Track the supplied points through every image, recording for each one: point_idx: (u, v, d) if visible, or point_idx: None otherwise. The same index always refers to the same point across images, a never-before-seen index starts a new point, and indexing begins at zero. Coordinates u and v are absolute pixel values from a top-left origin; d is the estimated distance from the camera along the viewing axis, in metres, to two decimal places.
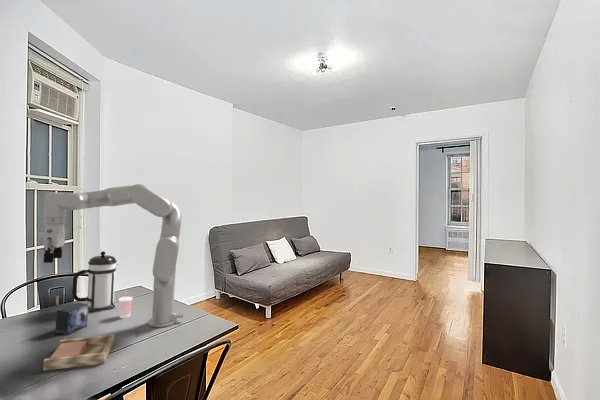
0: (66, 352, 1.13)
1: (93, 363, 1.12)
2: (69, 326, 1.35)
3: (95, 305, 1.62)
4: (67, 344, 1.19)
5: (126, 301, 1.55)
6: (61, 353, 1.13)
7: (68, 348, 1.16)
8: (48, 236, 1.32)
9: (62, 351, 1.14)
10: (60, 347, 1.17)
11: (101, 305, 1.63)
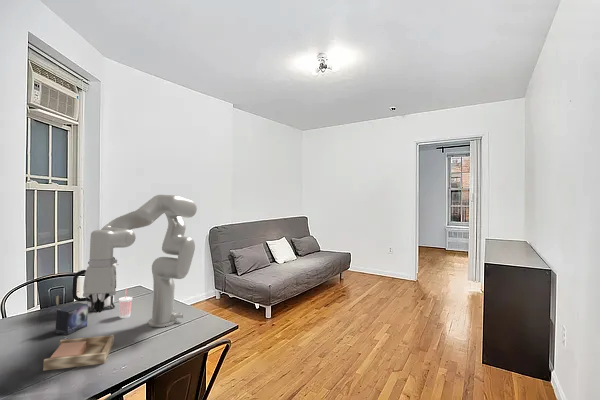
0: (66, 352, 1.13)
1: (93, 363, 1.12)
2: (69, 326, 1.35)
3: None
4: (67, 344, 1.19)
5: (126, 301, 1.55)
6: (61, 353, 1.13)
7: (68, 348, 1.16)
8: (115, 278, 1.20)
9: (62, 351, 1.14)
10: (60, 347, 1.17)
11: None
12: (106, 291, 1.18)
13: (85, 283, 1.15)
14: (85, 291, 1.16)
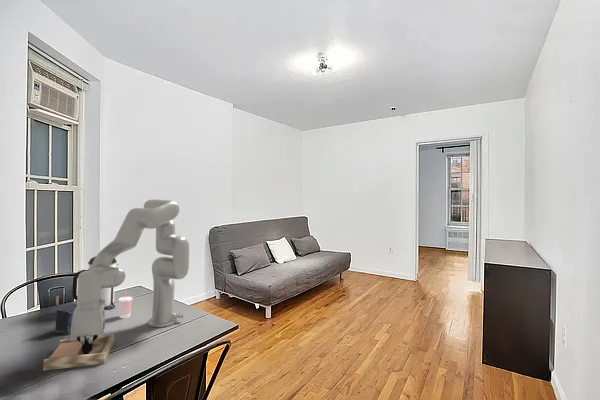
0: (65, 352, 1.13)
1: (93, 363, 1.12)
2: (69, 326, 1.35)
3: None
4: (66, 344, 1.19)
5: (126, 301, 1.55)
6: (60, 353, 1.13)
7: (67, 348, 1.16)
8: (103, 319, 1.19)
9: (61, 351, 1.14)
10: (59, 347, 1.17)
11: None
12: (94, 333, 1.17)
13: (73, 326, 1.14)
14: (73, 334, 1.14)
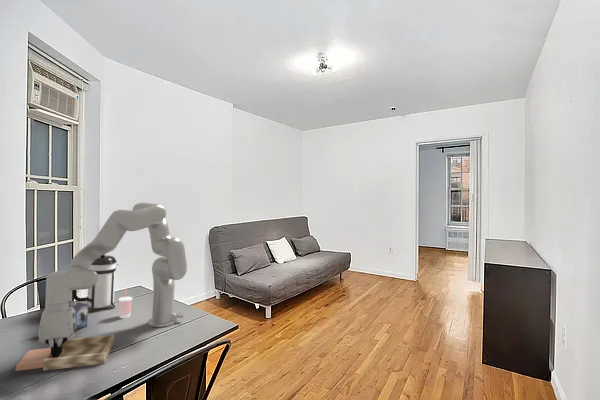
0: (33, 359, 1.10)
1: (93, 363, 1.12)
2: None
3: (95, 305, 1.62)
4: (35, 351, 1.16)
5: (126, 301, 1.55)
6: (28, 360, 1.09)
7: (35, 355, 1.13)
8: (73, 321, 1.16)
9: (29, 358, 1.11)
10: (27, 354, 1.13)
11: (101, 305, 1.63)
12: (63, 336, 1.14)
13: (40, 328, 1.11)
14: (40, 337, 1.11)
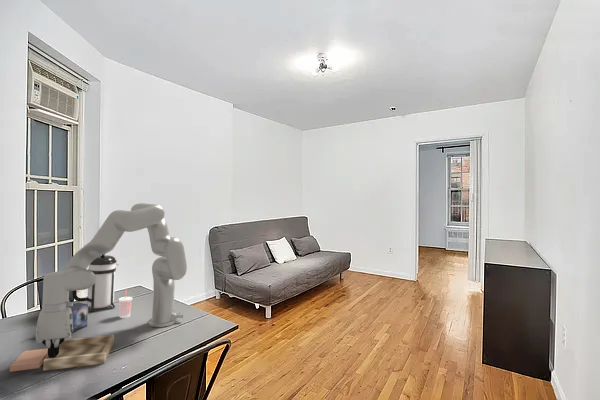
0: (28, 360, 1.09)
1: (93, 363, 1.12)
2: None
3: (95, 305, 1.62)
4: (30, 351, 1.15)
5: (126, 301, 1.55)
6: (22, 361, 1.09)
7: (30, 356, 1.12)
8: (70, 322, 1.16)
9: (24, 359, 1.10)
10: (22, 355, 1.12)
11: (101, 305, 1.63)
12: (60, 336, 1.13)
13: (37, 329, 1.11)
14: (37, 337, 1.11)
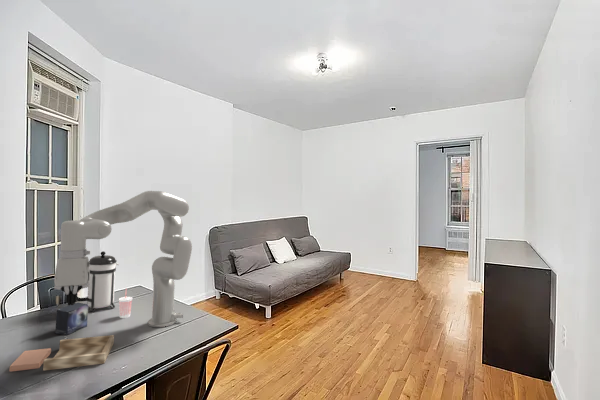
0: (28, 360, 1.09)
1: (93, 363, 1.12)
2: (69, 326, 1.35)
3: (95, 305, 1.62)
4: (30, 351, 1.15)
5: (126, 301, 1.55)
6: (22, 361, 1.09)
7: (30, 356, 1.12)
8: (88, 270, 1.17)
9: (24, 359, 1.10)
10: (22, 355, 1.12)
11: (101, 305, 1.63)
12: (78, 283, 1.15)
13: (56, 275, 1.12)
14: (56, 283, 1.13)
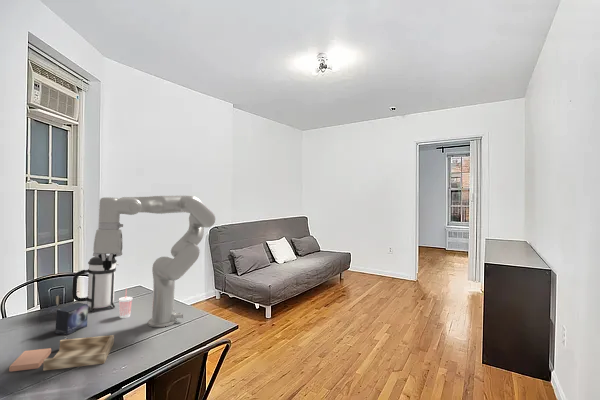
0: (28, 360, 1.09)
1: (93, 363, 1.12)
2: (69, 326, 1.35)
3: (95, 305, 1.62)
4: (30, 351, 1.15)
5: (126, 301, 1.55)
6: (22, 361, 1.09)
7: (30, 356, 1.12)
8: (121, 240, 1.35)
9: (24, 359, 1.10)
10: (22, 355, 1.12)
11: (101, 305, 1.63)
12: (113, 251, 1.32)
13: (95, 243, 1.30)
14: (95, 251, 1.30)
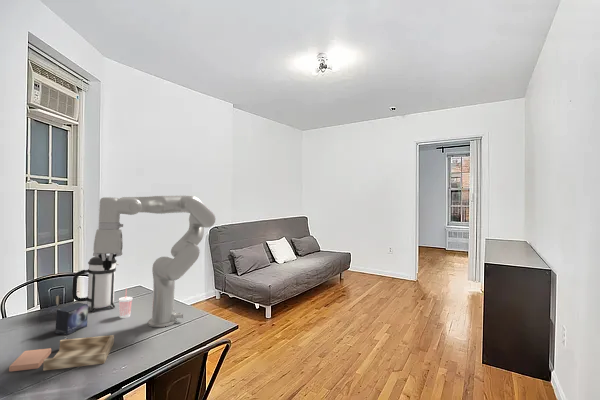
0: (28, 360, 1.09)
1: (93, 363, 1.12)
2: (69, 326, 1.35)
3: (95, 305, 1.62)
4: (30, 351, 1.15)
5: (126, 301, 1.55)
6: (22, 361, 1.09)
7: (30, 356, 1.12)
8: (121, 240, 1.35)
9: (24, 359, 1.10)
10: (22, 355, 1.13)
11: (101, 305, 1.63)
12: (113, 251, 1.32)
13: (95, 243, 1.30)
14: (95, 250, 1.30)
